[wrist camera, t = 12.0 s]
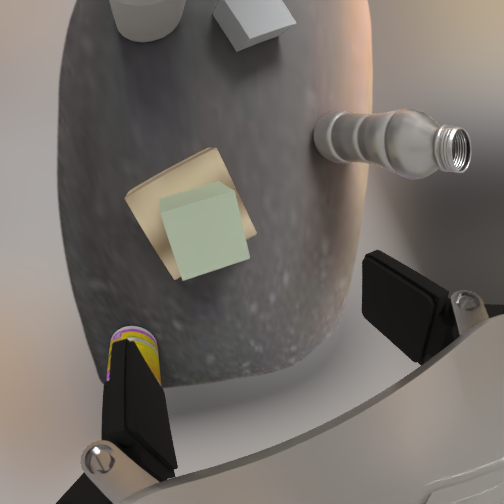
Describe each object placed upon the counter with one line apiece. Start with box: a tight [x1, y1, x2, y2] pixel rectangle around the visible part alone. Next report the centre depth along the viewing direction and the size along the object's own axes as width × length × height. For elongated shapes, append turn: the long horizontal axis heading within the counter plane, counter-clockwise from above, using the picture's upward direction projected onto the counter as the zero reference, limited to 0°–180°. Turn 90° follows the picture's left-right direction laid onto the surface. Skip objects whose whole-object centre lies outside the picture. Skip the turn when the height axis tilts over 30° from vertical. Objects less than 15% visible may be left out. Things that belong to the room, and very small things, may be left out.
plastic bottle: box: [314, 108, 471, 179], centre depth 26 cm, size 6×7×20 cm
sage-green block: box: [159, 181, 250, 281], centre depth 26 cm, size 6×6×6 cm
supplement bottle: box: [107, 326, 162, 387], centre depth 30 cm, size 7×7×13 cm
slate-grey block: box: [212, 0, 296, 52], centre depth 24 cm, size 6×6×5 cm
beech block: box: [125, 147, 257, 280], centre depth 30 cm, size 10×10×5 cm
